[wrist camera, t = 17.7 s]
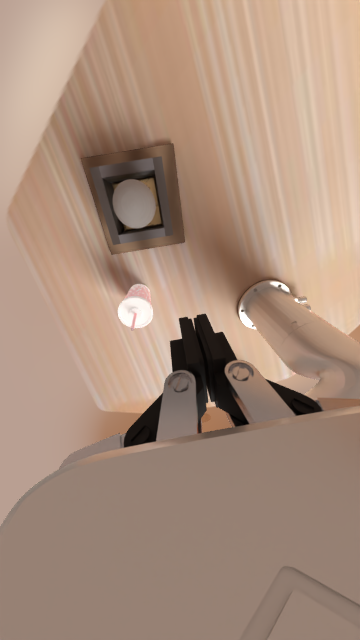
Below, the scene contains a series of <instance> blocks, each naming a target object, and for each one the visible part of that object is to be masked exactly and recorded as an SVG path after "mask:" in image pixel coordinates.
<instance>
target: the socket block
mask: <svg viewBox="0 0 360 640" xmlns="http://www.w3.org/2000/svg"><path fill="white" fill-rule="evenodd" d="M81 161H82V164H83V167H84V170H85V174H86V177H87V180H88V183H89V186H90V189H91V192H92V195H93V199H94V202H95V205H96V208H97V211H98V214H99V217H100V220H101V223H102V227H103V230H104V233H105V236H106V239H107V242H108V245H109V248H110V251H111V255H113V254H119V253H125V252H131V251H137V250H143V249H149V248H155V247H160V246H166V245H172V244H178V243H184V242H185V237H184V229H183V220H182V212H181V204H180V195H179V187H178V179H177V170H176V162H175V153H174V145H173V144H167V145H161V146H154V147H148V148H142V149H136V150H130V151H124V152H117V153H111V154H105V155H99V156H93V157H87V158H81ZM150 178H154V184H155V189H156V195H157V201H158V207H159V213H160V218H161V224H156V225H150V226H145V227H142V228H132V229H126V230H125V228H124V225H123V223H122V222H121V221H120V220H119V218H118V217H117V215H116V213H115V211H114V208H113V194H114V187H113V185H114V184H120V183H121V182H123V181H125V180H128V179H135V180H144V179H150Z"/></svg>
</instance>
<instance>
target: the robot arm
mask: <svg viewBox="0 0 360 640" xmlns="http://www.w3.org/2000/svg"><path fill="white" fill-rule="evenodd" d="M306 301H307V298H306V297H305V296H303V297H299V298H295V297H294V296H292V295H291V292H290V290H289V288H288V287H287V286H286V285H285V284H283V283H282V282H280V281H276V280H265V281H261V282H259V283H257V284H255V285H253V286H252V287H250V288H249V289H248V290H247V291H246V292H245V293H244V295H243V296H242V298H241V300H240V302H239V305H238V315H239V318H240V319H241V321H242V322H243V323H244V324H245V325H246V326H247V327H249V328H253V329H257V330H258V331H259V333H260V334H261V335H262V336H263V338H264V339H265V340H266V341H267V343H268V344H269V345H270V346H271V347H272V349H273V350H274V351H275V352H276V354H277V355H278V356H279V357H280V358H281V360H282V361H283V362H284V363H285V365H286V366H287V367H288V368H289V369H290V370H292V371H293V372H295V373H297V374H299V375H301V376H304V377H307V378H312V379H316V380H320V381H319V382H318V383H317V384H316V385H315V386H314V387H312V389H311V390H309V391H308V392H307V393H306V394H304V395H303V394H301V393H298V392H296V391H294V390H291V389H289V388H286V387H284V386H281V385H279V384H276V383H274V382H272V381H269V380H267V379H265V378H264V377H263V376H262V375H261V374H260V372H259V371H258V370H257V369H256V368H255V367H254V366H253V365H252V364H251V363H249V362H247V361H243V360H237V358H236V356H235V354H234V352H233V351H232V349H231V347H230V345H229V343H228V341H227V339H226V337H225V335H224V333H223V332H219V333H214V331H213V329H212V326H211V324H210V322H209V320H208V318H207V315H206V314H201V315H197V318H194V325H195V329H194V326H193V323H192V319H188V317H184V318H179V322H180V328H181V334H182V339H179V340H173V341H170V347H171V359H172V370H173V373H171V374H170V375H169V376H168V377H167V378H166V380H165V383H164V390H163V393H162V394H161V395H160V396H159V398H158V399H157V400H156V401H155V402H154V403H153V404H152V405H151V406H150V407H149V408H148V409H147V410H146V411H145V412H144V413H143V414H142V415H141V416H140V418H139V419H138V420H137V421H136V422H135V423H134V424H133V425H132V426H131V427H130V428H129V430H128V431H127V433H125V434H123V435H120V433H119V434H116V435H114V436H111V437H109V438H107V439H104V440H102V441H99V442H97V443H95V444H92V445H90V446H88V447H85V448H83V449H80V450H78V451H76V452H74V453H73V454H71V455H69V456H68V457H67V458H66V459H65V460H64V462H63V463H62V465H61V466H60V468H59V470H57V471H55V472H54V473H52V474H50V475H49V476H47V477H46V478H44V479H43V480H41V481H40V482H38V483H37V484H36V485H35V486H33V487H32V488H31V489H30V490H28V492H26V493H25V494H24V495H23V496H22V497H21V498H20V499H19V501H18V502H17V503H16V504H15V505H14V507H13V508H12V509H11V511H10V512H9V514H8V515H7V517H6V518H5V520H4V521H3V523H2V524H1V526H0V640H360V343H359V342H358V341H356V340H354V339H353V338H351V337H350V336H348V335H346V334H345V333H343V332H342V331H340V330H339V329H337V328H336V327H334V326H333V325H331V324H330V323H328V322H327V321H325V320H324V319H322V318H321V317H319V316H318V315H316V314H315V313H313V312H312V311H310V310H311V308H310V306H309V305H308V304H305V305H301V304H300V303H305V302H306ZM207 389H208V392H209V396H210V400H211V402H214V401H215V404H216V407H219V408H220V409H222V410H224V411H225V412H226V415H227V418H228V420H229V422H230V424H231V426H232V428H227V429H221V430H215V431H210V432H204V433H202V423H201V417H202V416H203V415H204V413H205V412H206V403H208V395H207Z"/></svg>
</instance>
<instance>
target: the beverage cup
mask: <svg viewBox="0 0 360 640" xmlns="http://www.w3.org/2000/svg"><path fill="white" fill-rule="evenodd" d="M118 316H119V318H120V320H121V321H122V323H124V324H125V325H127V326H129V327H131V330H134V328H141V327H144V326H146V325H148V324H149V323H150V322H151V320H152V317H153V308H152V306H151V296H150V290H149V288H148V287H146V286H145V285H143V284H136V285H133V286H132V287H131V288H130V290H129V292H128V293H127V295H126V297H125V299H124V300H123V301H122V302H121V303H120V305H119V308H118Z"/></svg>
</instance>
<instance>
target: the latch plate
mask: <svg viewBox="0 0 360 640" xmlns="http://www.w3.org/2000/svg"><path fill="white" fill-rule="evenodd" d="M138 181H141V182H142V183H144V184H145V185H146V186H147V187H148V188H149V189H150V190H151V192H152V194H153V196H154V199H155V203H156V210H155V215H154V217H153V219H152V221H151V222H150V223H149V224H148V225H146V226H150V225H156V224H161V218H160V213H159V207H158V201H157V195H156V189H155V184H154V178H150V179H144V180H138ZM118 185H119V184H114V185H113V187H114V191H115V189H116V187H117V186H118ZM123 225H124V228H125V230H126V229H132V228H131V227H128V226H126V225H125V224H123Z"/></svg>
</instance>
